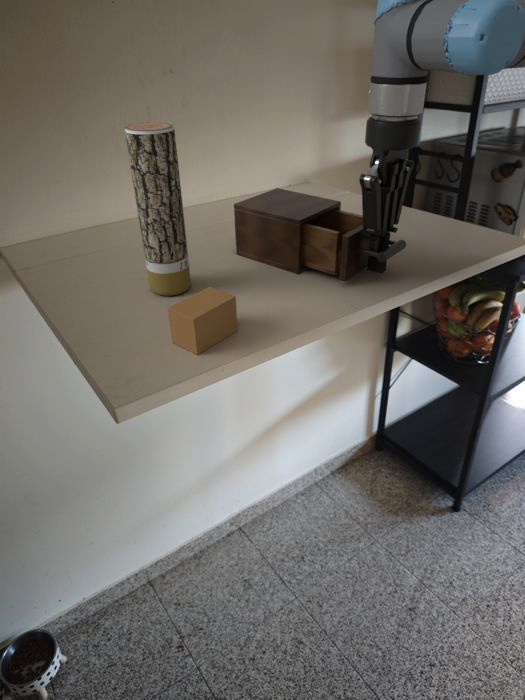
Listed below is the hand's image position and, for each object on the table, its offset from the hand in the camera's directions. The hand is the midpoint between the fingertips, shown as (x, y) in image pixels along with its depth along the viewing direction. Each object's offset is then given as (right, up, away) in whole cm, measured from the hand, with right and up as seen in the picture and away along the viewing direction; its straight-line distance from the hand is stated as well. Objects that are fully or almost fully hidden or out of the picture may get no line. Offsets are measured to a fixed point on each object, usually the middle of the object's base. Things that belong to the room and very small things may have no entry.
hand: (376, 270), depth 83 cm
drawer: (-5, +2, +4) cm, 6 cm away
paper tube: (-34, -3, 0) cm, 34 cm away
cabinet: (-14, +5, +11) cm, 19 cm away
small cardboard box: (-27, -11, -13) cm, 32 cm away
